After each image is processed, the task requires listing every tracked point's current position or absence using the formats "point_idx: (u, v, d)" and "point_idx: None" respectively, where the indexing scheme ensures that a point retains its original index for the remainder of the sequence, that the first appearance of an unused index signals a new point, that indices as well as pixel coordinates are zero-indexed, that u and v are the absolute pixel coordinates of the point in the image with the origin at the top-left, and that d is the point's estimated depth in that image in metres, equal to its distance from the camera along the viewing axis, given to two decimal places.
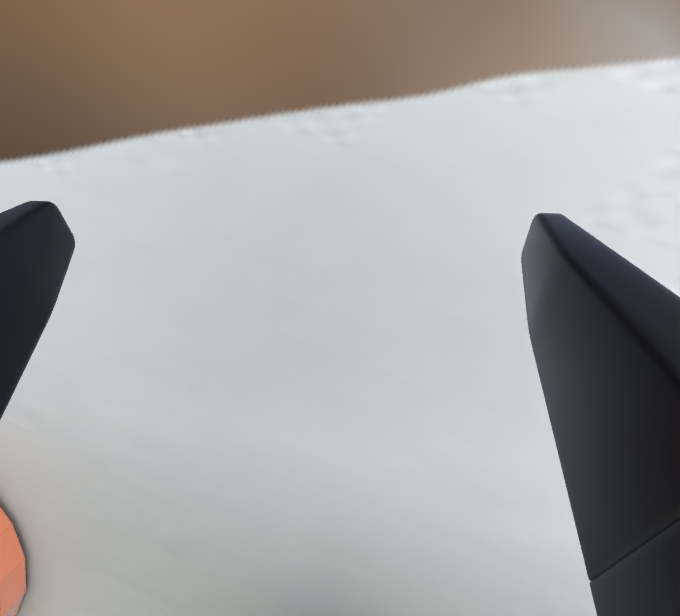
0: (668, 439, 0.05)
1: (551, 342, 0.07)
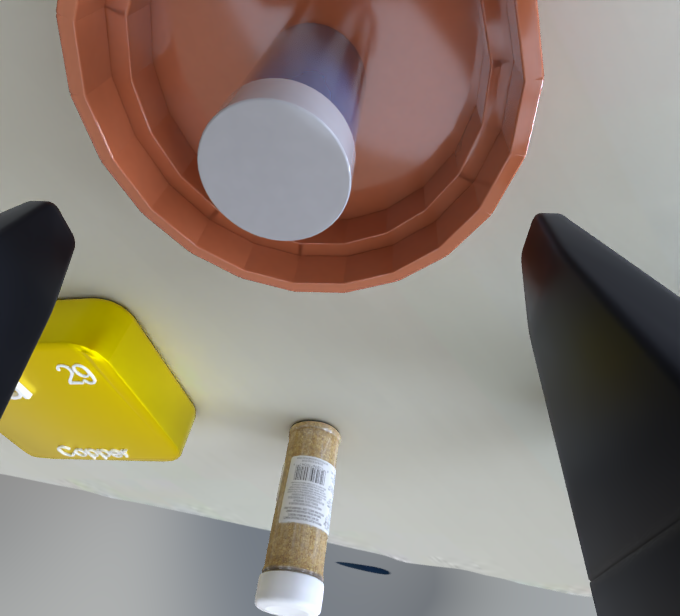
0: (669, 439, 0.05)
1: (551, 342, 0.07)
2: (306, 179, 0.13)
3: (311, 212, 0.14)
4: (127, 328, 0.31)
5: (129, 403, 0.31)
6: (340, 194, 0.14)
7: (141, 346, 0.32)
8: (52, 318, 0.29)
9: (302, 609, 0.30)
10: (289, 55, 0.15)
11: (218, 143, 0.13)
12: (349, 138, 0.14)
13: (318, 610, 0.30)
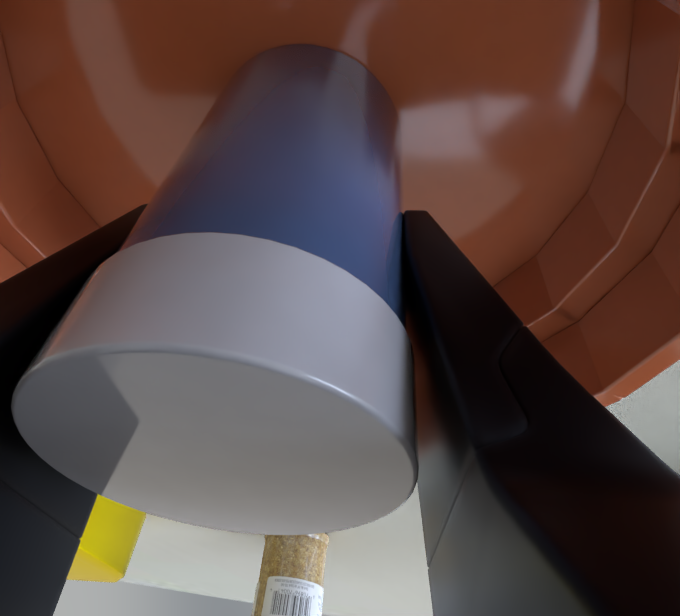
0: (447, 426, 0.05)
1: None
2: (303, 477, 0.05)
3: (313, 512, 0.06)
4: None
5: None
6: (385, 499, 0.06)
7: None
8: None
9: None
10: (263, 135, 0.06)
11: (62, 414, 0.05)
12: (411, 371, 0.05)
13: None
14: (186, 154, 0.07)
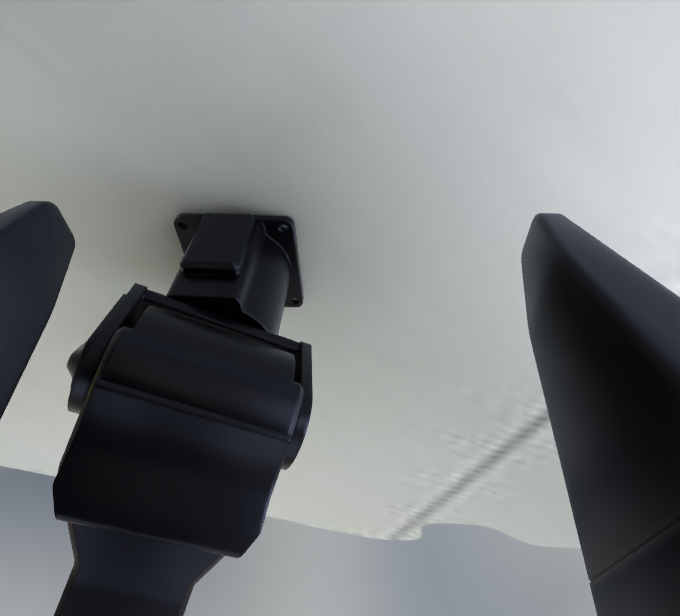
0: (669, 439, 0.05)
1: (551, 342, 0.07)
2: None
3: None
4: None
5: None
6: None
7: None
8: None
9: None
10: None
11: None
12: None
13: None
14: None
